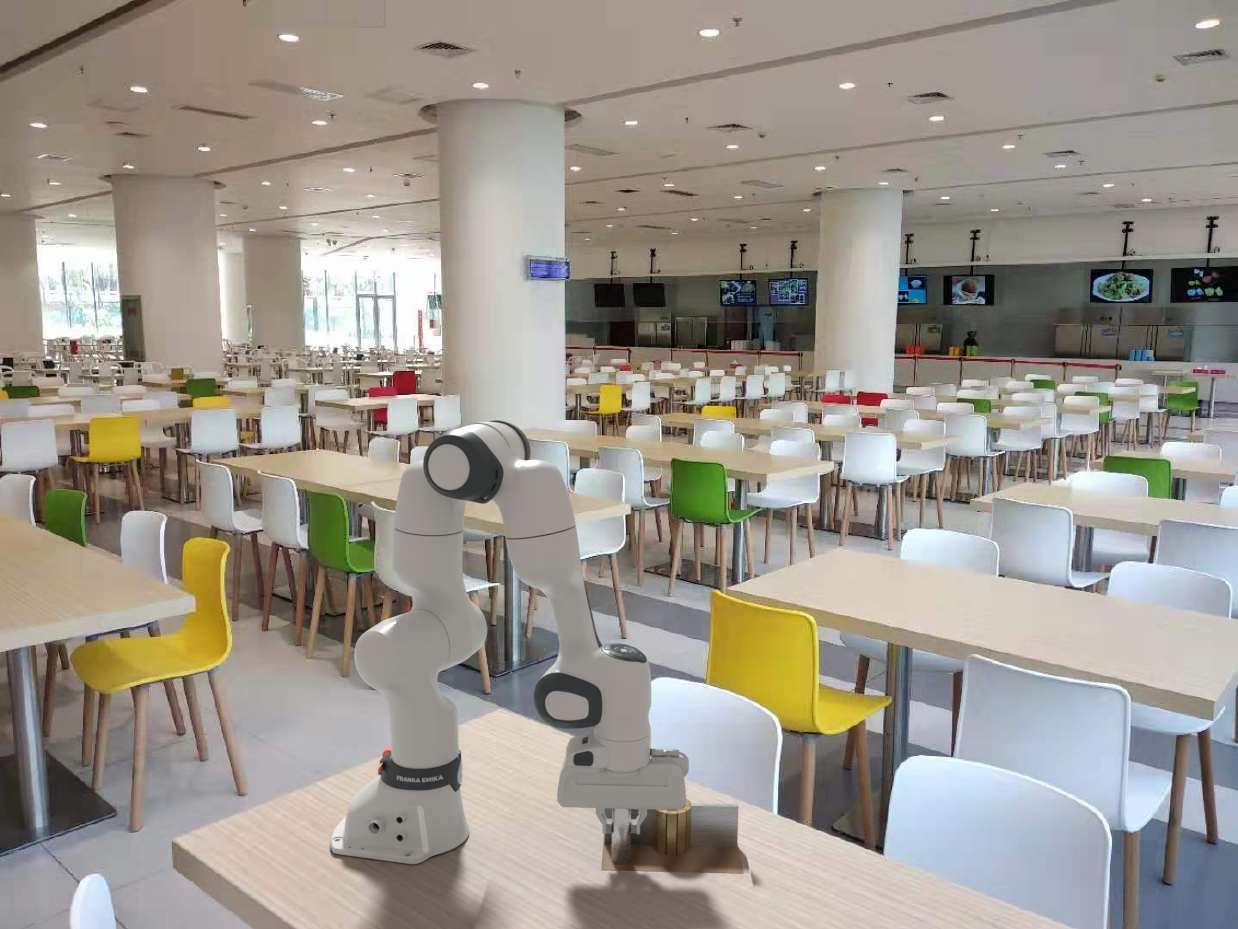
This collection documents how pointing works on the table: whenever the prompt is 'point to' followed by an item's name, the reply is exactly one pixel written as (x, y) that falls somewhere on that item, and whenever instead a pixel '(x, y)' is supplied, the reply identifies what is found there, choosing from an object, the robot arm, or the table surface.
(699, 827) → the hinge
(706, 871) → the walnut base
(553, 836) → the table surface
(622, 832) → the hinge pin
